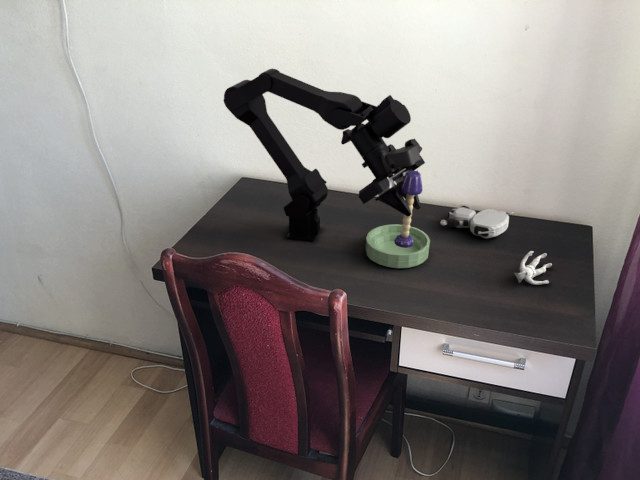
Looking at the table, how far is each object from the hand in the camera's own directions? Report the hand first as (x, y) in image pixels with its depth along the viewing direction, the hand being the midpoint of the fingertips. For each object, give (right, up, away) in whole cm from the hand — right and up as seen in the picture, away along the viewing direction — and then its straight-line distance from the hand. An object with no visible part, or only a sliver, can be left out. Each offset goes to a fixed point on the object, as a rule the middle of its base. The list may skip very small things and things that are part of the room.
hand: (414, 212), depth 146 cm
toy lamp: (-1, -6, +5) cm, 8 cm away
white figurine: (+26, -14, +4) cm, 30 cm away
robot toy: (+17, -2, +22) cm, 28 cm away
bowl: (-3, -8, +12) cm, 14 cm away
